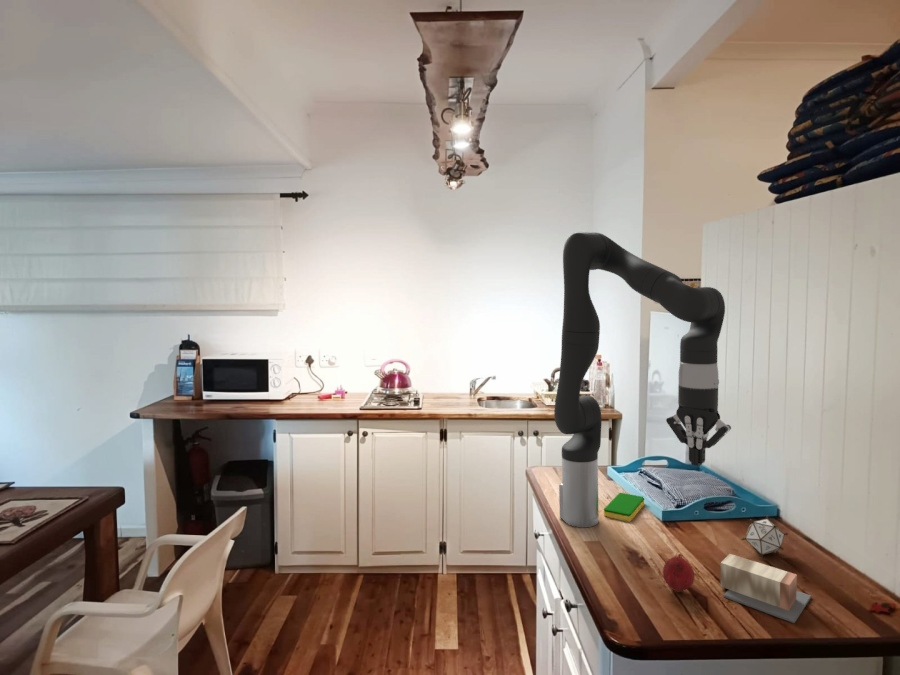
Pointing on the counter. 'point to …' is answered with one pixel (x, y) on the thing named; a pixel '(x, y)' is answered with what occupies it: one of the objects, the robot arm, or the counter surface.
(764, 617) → the counter surface
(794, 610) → the mat
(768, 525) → the game die
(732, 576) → the beech block
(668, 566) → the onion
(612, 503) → the dish sponge
